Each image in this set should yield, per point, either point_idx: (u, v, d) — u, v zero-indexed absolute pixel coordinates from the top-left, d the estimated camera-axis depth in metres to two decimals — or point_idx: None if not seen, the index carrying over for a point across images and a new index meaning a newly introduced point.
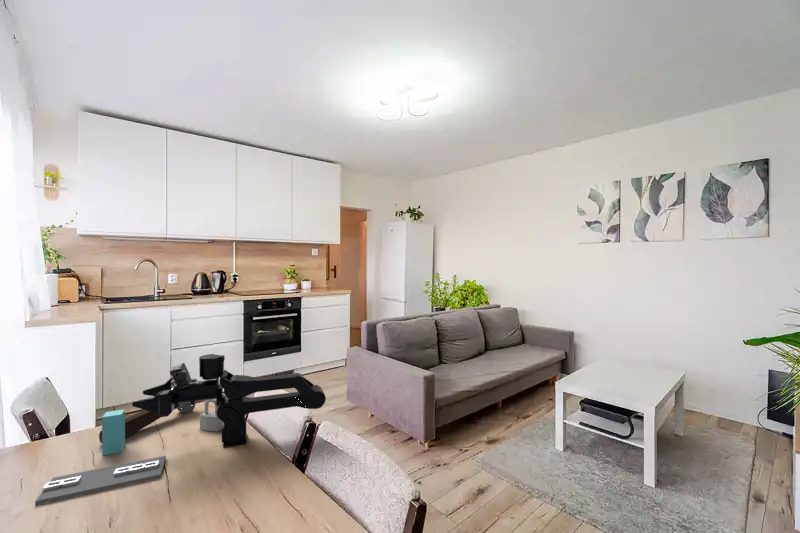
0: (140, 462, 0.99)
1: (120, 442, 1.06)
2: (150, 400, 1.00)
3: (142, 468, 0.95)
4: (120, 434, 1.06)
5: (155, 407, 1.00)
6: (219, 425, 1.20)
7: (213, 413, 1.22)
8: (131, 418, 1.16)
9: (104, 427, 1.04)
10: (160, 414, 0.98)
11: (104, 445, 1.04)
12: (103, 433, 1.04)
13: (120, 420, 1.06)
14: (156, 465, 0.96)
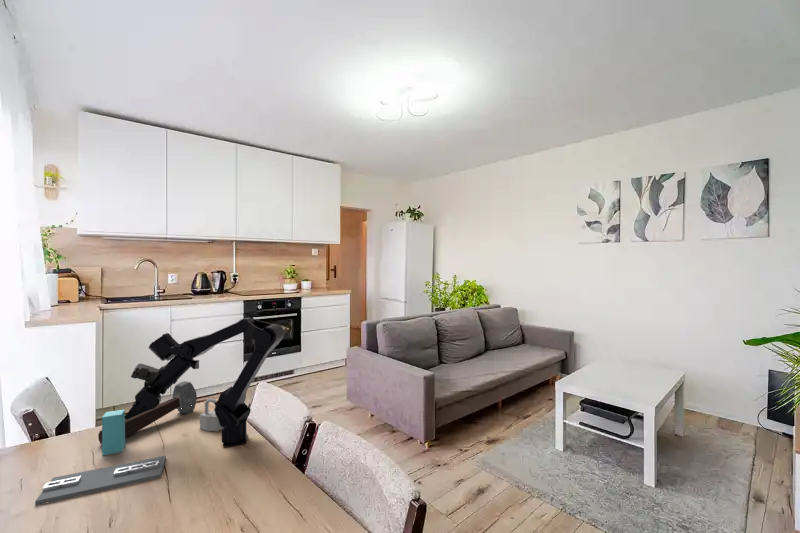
0: (140, 462, 0.99)
1: (120, 442, 1.06)
2: (135, 405, 1.04)
3: (142, 468, 0.95)
4: (120, 434, 1.06)
5: (145, 406, 1.05)
6: (219, 425, 1.20)
7: (213, 413, 1.22)
8: (130, 418, 1.16)
9: (104, 427, 1.04)
10: (151, 407, 1.03)
11: (104, 445, 1.04)
12: (103, 433, 1.04)
13: (120, 420, 1.06)
14: (156, 465, 0.96)
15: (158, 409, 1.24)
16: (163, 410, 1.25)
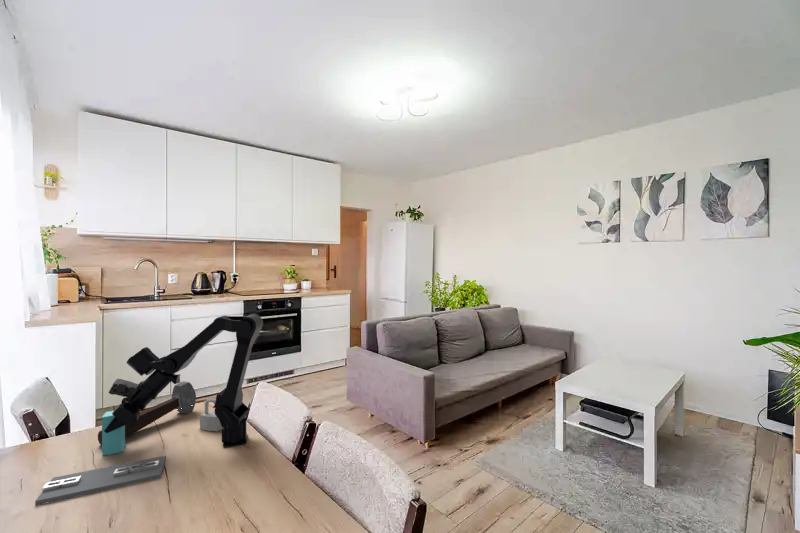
0: (140, 462, 0.99)
1: (120, 442, 1.06)
2: (115, 419, 1.04)
3: (142, 468, 0.95)
4: (120, 434, 1.06)
5: None
6: (219, 425, 1.20)
7: (213, 413, 1.22)
8: None
9: (104, 427, 1.04)
10: (128, 424, 1.01)
11: (104, 445, 1.04)
12: (103, 433, 1.04)
13: None
14: (156, 465, 0.96)
15: (157, 409, 1.24)
16: (163, 410, 1.25)
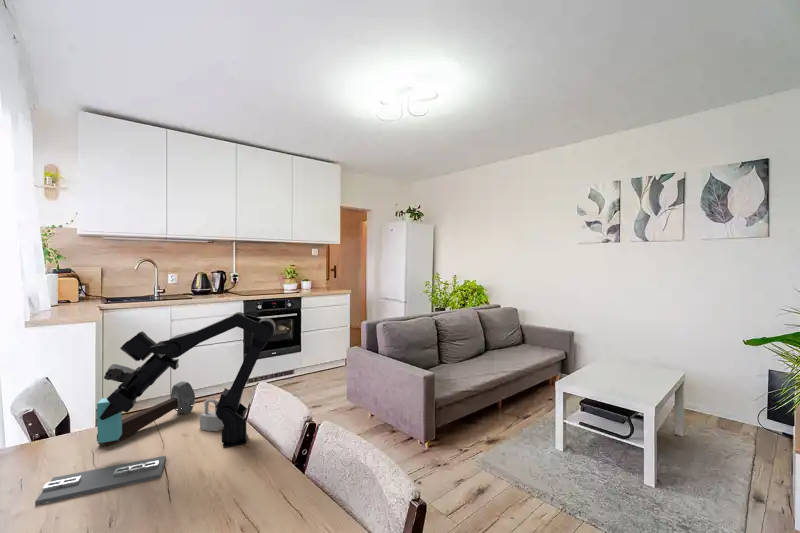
0: (140, 462, 0.99)
1: (116, 430, 1.01)
2: (110, 405, 0.99)
3: (142, 468, 0.95)
4: (116, 421, 1.01)
5: None
6: (219, 425, 1.20)
7: (213, 413, 1.22)
8: (129, 419, 1.16)
9: (99, 414, 1.00)
10: (124, 410, 0.96)
11: (99, 432, 1.00)
12: (98, 420, 1.00)
13: None
14: (156, 465, 0.96)
15: (156, 409, 1.23)
16: (161, 410, 1.25)
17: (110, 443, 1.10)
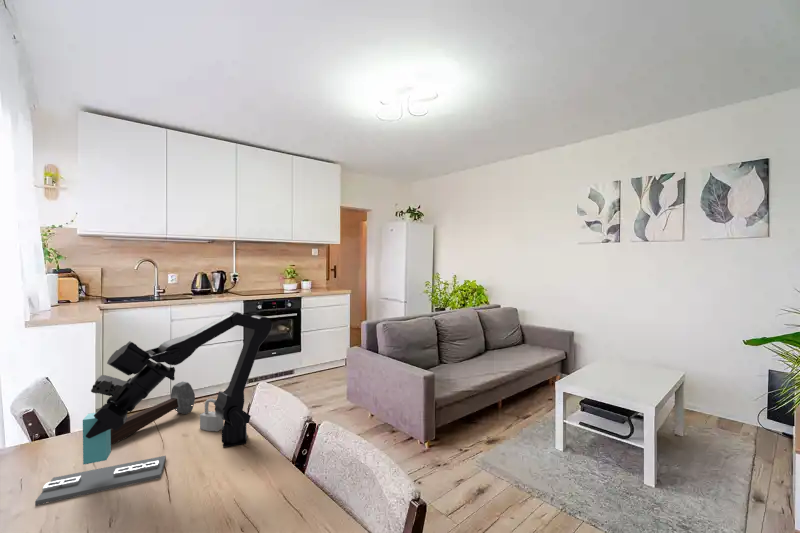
0: (140, 462, 0.99)
1: (104, 449, 0.91)
2: (98, 422, 0.89)
3: (142, 468, 0.95)
4: (104, 439, 0.91)
5: None
6: (219, 425, 1.20)
7: (213, 413, 1.22)
8: (128, 419, 1.16)
9: (85, 432, 0.89)
10: (113, 428, 0.86)
11: (85, 452, 0.89)
12: (84, 438, 0.89)
13: None
14: (156, 465, 0.96)
15: (156, 409, 1.23)
16: (161, 411, 1.25)
17: None
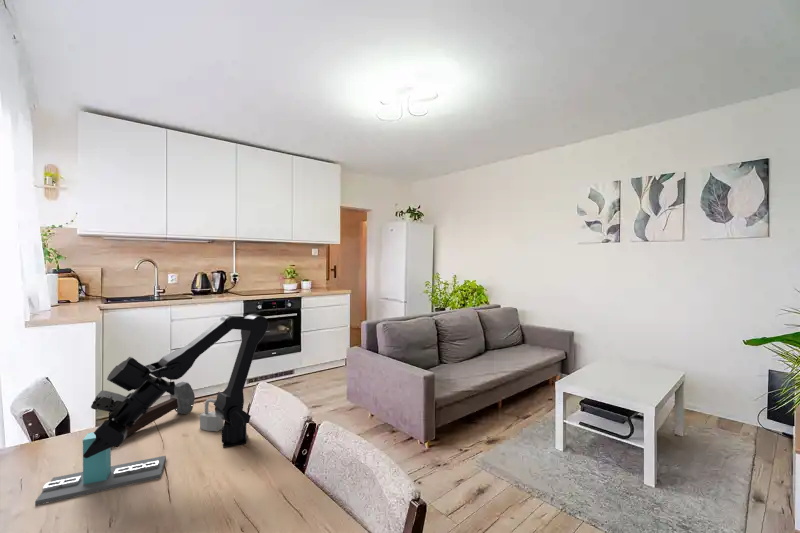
0: (140, 462, 0.99)
1: (104, 468, 0.91)
2: (96, 441, 0.87)
3: (142, 468, 0.95)
4: (104, 459, 0.91)
5: None
6: (219, 425, 1.20)
7: (213, 413, 1.22)
8: None
9: None
10: (113, 445, 0.86)
11: (85, 472, 0.89)
12: (84, 458, 0.89)
13: None
14: (156, 465, 0.96)
15: (156, 409, 1.23)
16: (161, 411, 1.25)
17: None
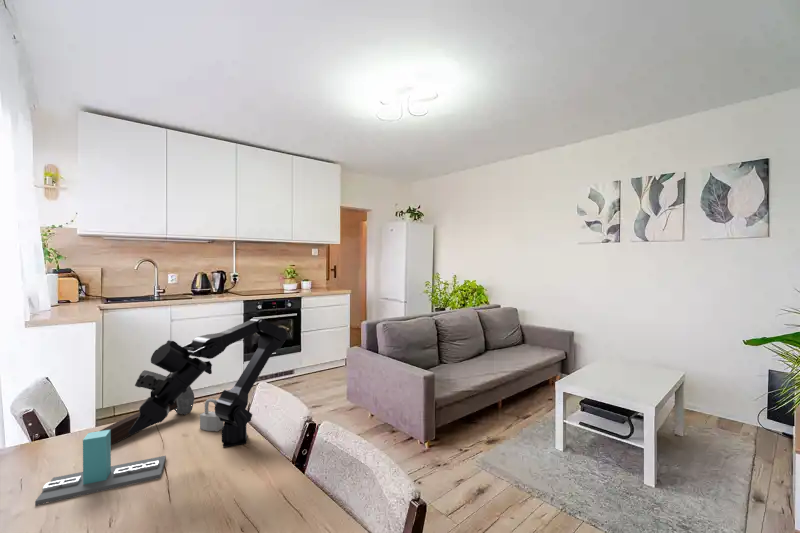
0: (140, 462, 0.99)
1: (104, 468, 0.91)
2: (140, 418, 0.91)
3: (142, 468, 0.95)
4: (104, 459, 0.91)
5: (151, 419, 0.91)
6: (219, 425, 1.20)
7: (213, 413, 1.22)
8: (127, 420, 1.15)
9: (85, 452, 0.89)
10: (158, 420, 0.89)
11: (85, 472, 0.89)
12: (84, 458, 0.89)
13: (104, 443, 0.91)
14: (156, 465, 0.96)
15: None
16: None
17: None
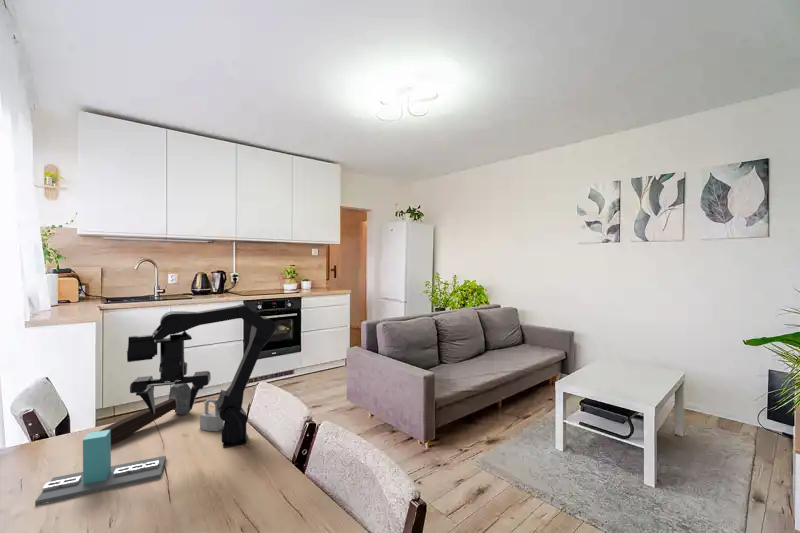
0: (140, 462, 0.99)
1: (104, 468, 0.91)
2: None
3: (142, 468, 0.95)
4: (104, 459, 0.91)
5: None
6: (219, 425, 1.20)
7: (213, 413, 1.22)
8: (126, 420, 1.15)
9: (85, 452, 0.89)
10: None
11: (85, 472, 0.89)
12: (84, 458, 0.89)
13: (104, 443, 0.91)
14: (156, 465, 0.96)
15: None
16: (159, 411, 1.24)
17: None
